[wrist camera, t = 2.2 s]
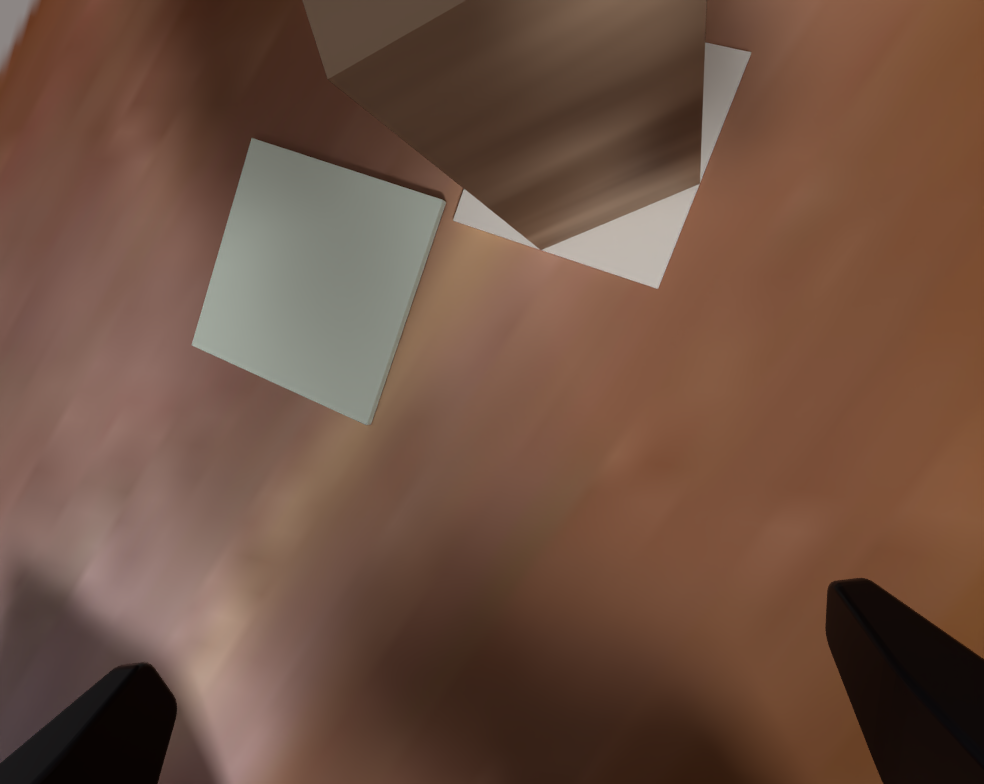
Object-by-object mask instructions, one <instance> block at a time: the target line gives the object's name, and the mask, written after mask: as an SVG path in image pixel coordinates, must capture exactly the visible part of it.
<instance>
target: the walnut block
mask: <svg viewBox="0 0 984 784" xmlns="http://www.w3.org/2000/svg"><path fill="white" fill-rule="evenodd" d="M302 1H303V4H304V7H305V10H306V13H307V16H308V20H309V23H310V26H311V29H312V32H313V35H314V38H315V41H316V45H317V48H318V51H319V54H320V57H321V60H322V63H323V66H324V70H325V73H326V76H327V79H328V80H329V81H330V82H332V83H333V84H334V85H335V86H337V87H338V88H339V89H340V90H342V91H343V92H344V93H345V94H346V95H348V96H349V97H350V98H351V99H353V100H354V101H355V102H356V103H358V104H359V105H360V106H361V107H363V108H364V109H365V110H366V111H368V112H369V113H370V114H371V115H373V116H374V117H375V118H376V119H378V120H379V121H380V122H381V123H383V124H384V125H385V126H386V127H388V128H389V129H390V130H391V131H393V132H394V133H395V134H396V135H398V136H399V137H400V138H401V139H403V140H404V141H405V142H406V143H408V144H409V145H410V146H411V147H413V148H414V149H415V150H416V151H418V152H419V153H420V154H421V155H423V156H424V157H425V158H426V159H428V160H429V161H430V162H431V163H433V164H434V165H435V166H436V167H438V168H439V169H440V170H441V171H443V172H444V173H445V174H446V175H448V176H449V177H450V178H451V179H453V180H454V181H455V182H456V183H458V184H459V185H460V186H461V187H463V188H464V189H465V190H466V191H468V192H469V193H470V194H471V195H473V196H474V197H475V198H476V199H478V200H479V201H480V202H481V203H483V204H484V205H485V206H486V207H488V208H489V209H490V210H491V211H493V212H494V213H495V214H496V215H498V216H499V217H500V218H501V219H503V220H504V221H505V222H506V223H508V224H509V225H510V226H511V227H512V228H514V229H515V230H516V231H517V232H519V233H520V234H521V235H522V236H524V237H525V238H526V239H527V240H529V241H530V242H531V243H532V244H534V245H535V246H536V247H537V248H539V249H540V250H543V249H545V248H547V247H550V246H552V245H555V244H557V243H559V242H562V241H564V240H567V239H569V238H571V237H574V236H576V235H579V234H581V233H583V232H586V231H588V230H591V229H593V228H595V227H598V226H600V225H603V224H605V223H607V222H610V221H612V220H614V219H617V218H619V217H622V216H624V215H626V214H629V213H631V212H634V211H636V210H638V209H641V208H643V207H646V206H648V205H650V204H653V203H655V202H658V201H660V200H662V199H665V198H667V197H670V196H672V195H674V194H677V193H679V192H681V191H684V190H686V189H689V188H691V187H693V186H696V185H698V184H700V168H701V141H702V114H703V88H704V61H705V34H706V7H707V0H302Z"/></svg>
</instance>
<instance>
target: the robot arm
mask: <svg viewBox="0 0 984 784" xmlns="http://www.w3.org/2000/svg"><path fill="white" fill-rule="evenodd" d="M826 636H827V641H828V644H829V648H830V650H831V653H832V655H833V658H834V661H835V663H836V666H837V668H838V671H839V673H840V676H841V679H842V681H843V684H844V686H845V689H846V691H847V694H848V696H849V699H850V702H851V704H852V707H853V709H854V712H855V714H856V717H857V720H858V722H859V725H860V727H861V730H862V732H863V735H864V737H865V740H866V743H867V745H868V748H869V750H870V753H871V755H872V758H873V760H874V763H875V765H876V768H877V770H878V773H879V775H880V777H881V780H882V782H883V784H984V659H983V658H981V657H980V656H978V655H977V654H976V653H974V652H973V651H971V650H970V649H968V648H967V647H966V646H964V645H963V644H961V643H960V642H958V641H957V640H956V639H954V638H953V637H951V636H950V635H948V634H947V633H946V632H944V631H943V630H941V629H940V628H938V627H937V626H935V625H934V624H933V623H931V622H930V621H928V620H927V619H925V618H924V617H923V616H921V615H920V614H918V613H917V612H915V611H914V610H913V609H911V608H910V607H908V606H907V605H905V604H904V603H903V602H901V601H900V600H898V599H897V598H895V597H894V596H893V595H891V594H890V593H888V592H887V591H885V590H884V589H883V588H881V587H880V586H878V585H877V584H875V583H874V582H872V581H870V580H868V579H865V578H855V579H847V580H838V581H833V582H831V583H830V585H829V587H828V591H827V608H826ZM176 715H177V703H176V699H175V697H174V695H173V694H172V692H171V691H170V690H169V688H168V687H167V685H166V684H165V682H164V681H163V680H162V678H161V677H160V675H159V674H158V672H157V671H156V670H155V668H154V667H153V666H152V665H151V664H148V663H144V662H142V663H134V664H125V665H121V666H118V667H116V668H114V669H113V670H112V671H110V672H109V673H108V674H107V675H106V676H104V677H103V678H102V679H101V680H100V681H98V682H97V683H96V684H95V685H94V686H92V687H91V688H90V689H89V690H88V691H86V692H85V693H84V694H83V695H82V696H80V697H79V698H78V699H77V700H76V701H74V702H73V703H72V704H71V705H70V706H68V707H67V708H66V709H65V710H64V711H62V712H61V713H60V714H59V715H58V716H56V717H55V718H54V719H53V720H52V721H50V722H49V723H48V724H47V725H46V726H44V727H43V728H42V729H41V730H40V731H38V732H37V733H36V734H35V735H34V736H32V737H31V738H30V739H29V740H28V741H26V742H25V743H24V744H23V745H22V746H20V747H19V748H18V749H17V750H16V751H15V752H13V753H12V754H11V755H10V756H9V757H7V758H6V759H5V760H4V761H3V762H1V763H0V784H157V783H158V780H159V776H160V773H161V769H162V765H163V762H164V758H165V755H166V751H167V748H168V744H169V741H170V737H171V733H172V730H173V726H174V723H175V719H176Z"/></svg>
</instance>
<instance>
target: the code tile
mask: <svg viewBox="0 0 984 784" xmlns="http://www.w3.org/2000/svg"><path fill="white" fill-rule="evenodd" d="M750 55H751V52H748V51H743V50H738V49H734V48H729V47H724V46H720V45H715V44H710V43H706V42H705V61H704V88H703V114H702V141H701V168H700V182H701V179H702V177H703V174H704V172H705V169H706V166H707V164H708V161H709V159H710V156H711V154H712V151H713V149H714V146H715V144H716V141H717V139H718V136H719V134H720V131H721V129H722V126H723V124H724V121H725V118H726V116H727V113H728V111H729V108H730V106H731V103H732V101H733V98H734V96H735V93H736V91H737V88H738V86H739V83H740V81H741V78H742V76H743V73H744V70H745V68H746V65H747V63H748V60H749V58H750ZM698 187H699V184H698V185H696V186H693V187H691V188H689V189H686V190H684V191H681V192H679V193H677V194H674V195H672V196H670V197H667V198H665V199H662V200H660V201H658V202H655V203H653V204H650V205H648V206H646V207H643V208H641V209H638V210H636V211H634V212H631V213H629V214H626V215H624V216H622V217H619V218H617V219H614V220H612V221H610V222H607V223H605V224H603V225H600V226H598V227H595V228H593V229H591V230H588V231H586V232H583V233H581V234H579V235H576V236H574V237H571V238H569V239H567V240H564V241H562V242H559V243H557V244H555V245H552V246H550V247H547V248H545V249H543V250H542V251H545V252H548V253H551V254H554V255H557V256H560V257H563V258H566V259H569V260H572V261H575V262H578V263H581V264H584V265H587V266H590V267H593V268H596V269H599V270H602V271H605V272H608V273H611V274H614V275H617V276H620V277H623V278H626V279H629V280H632V281H635V282H638V283H641V284H644V285H647V286H650V287H653V288H656V289H658V288H659V285H660V283H661V280H662V278H663V275H664V273H665V270H666V268H667V265H668V262H669V260H670V257H671V255H672V252H673V250H674V247H675V245H676V242H677V240H678V237H679V235H680V232H681V230H682V227H683V225H684V222H685V220H686V217H687V214H688V212H689V209H690V207H691V204H692V202H693V199H694V197H695V194H696V192H697V189H698ZM453 221H455V222H458V223H461V224H464V225H467V226H470V227H473V228H476V229H479V230H482V231H485V232H488V233H491V234H494V235H497V236H500V237H503V238H506V239H509V240H512V241H515V242H518V243H521V244H524V245H527V246H530V247H533V248H536V249H539V248H537V247H536V246H535V245H534V244H532V243H531V242H530V241H529V240H527V239H526V238H525V237H524V236H522V235H521V234H520V233H519V232H517V231H516V230H515V229H514V228H512V227H511V226H510V225H509V224H508V223H506V222H505V221H504V220H503V219H501V218H500V217H499V216H498V215H496V214H495V213H494V212H493V211H491V210H490V209H489V208H488V207H486V206H485V205H484V204H483V203H481V202H480V201H479V200H478V199H476V198H475V197H474V196H473V195H471V194H470V193H469V192H468V191H466V190H465V189H464V190H463V193H462V196H461V199H460V202H459V205H458V208H457V211H456V213H455V216H454V219H453ZM539 250H540V249H539Z"/></svg>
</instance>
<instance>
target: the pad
mask: <svg viewBox="0 0 984 784" xmlns="http://www.w3.org/2000/svg"><path fill="white" fill-rule="evenodd" d="M445 205H446V202H445V201H444V200H442V199H439V198H435V197H432V196H429V195H426V194H423V193H420V192H417V191H414V190H411V189H408V188H405V187H402V186H398V185H395V184H392V183H389V182H386V181H383V180H380V179H377V178H374V177H371V176H368V175H365V174H361V173H358V172H355V171H352V170H349V169H346V168H343V167H340V166H337V165H334V164H331V163H328V162H324V161H321V160H318V159H315V158H312V157H309V156H306V155H303V154H300V153H297V152H294V151H291V150H287V149H284V148H281V147H278V146H275V145H272V144H269V143H266V142H263V141H260V140H257V139H254V138H252V139H251V142H250V146H249V149H248V153H247V156H246V159H245V163H244V166H243V170H242V173H241V177H240V180H239V184H238V187H237V191H236V194H235V197H234V201H233V204H232V208H231V211H230V215H229V218H228V222H227V225H226V228H225V232H224V235H223V239H222V242H221V246H220V249H219V253H218V256H217V260H216V263H215V266H214V270H213V273H212V277H211V280H210V284H209V287H208V291H207V294H206V298H205V301H204V304H203V308H202V311H201V315H200V318H199V322H198V325H197V329H196V332H195V335H194V339H193V342H192V346H194V347H197V348H199V349H201V350H203V351H205V352H208V353H210V354H212V355H214V356H216V357H219V358H221V359H223V360H225V361H227V362H229V363H232V364H234V365H236V366H238V367H240V368H243V369H245V370H247V371H249V372H251V373H253V374H256V375H258V376H260V377H262V378H264V379H267V380H269V381H271V382H273V383H275V384H278V385H280V386H282V387H284V388H286V389H288V390H291V391H293V392H295V393H297V394H299V395H302V396H304V397H306V398H308V399H310V400H313V401H315V402H317V403H319V404H321V405H323V406H326V407H328V408H330V409H332V410H334V411H337V412H339V413H341V414H343V415H345V416H348V417H350V418H352V419H354V420H356V421H358V422H361V423H363V424H365V425H371V423H372V420H373V417H374V414H375V411H376V408H377V405H378V402H379V399H380V396H381V393H382V391H383V388H384V385H385V382H386V379H387V376H388V373H389V370H390V367H391V364H392V361H393V358H394V355H395V352H396V349H397V346H398V343H399V340H400V337H401V334H402V332H403V329H404V326H405V323H406V320H407V317H408V314H409V311H410V308H411V305H412V302H413V299H414V296H415V293H416V290H417V287H418V284H419V281H420V278H421V275H422V273H423V270H424V267H425V264H426V261H427V258H428V255H429V252H430V249H431V246H432V243H433V240H434V237H435V234H436V231H437V228H438V225H439V222H440V219H441V216H442V214H443V211H444V208H445Z"/></svg>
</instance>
